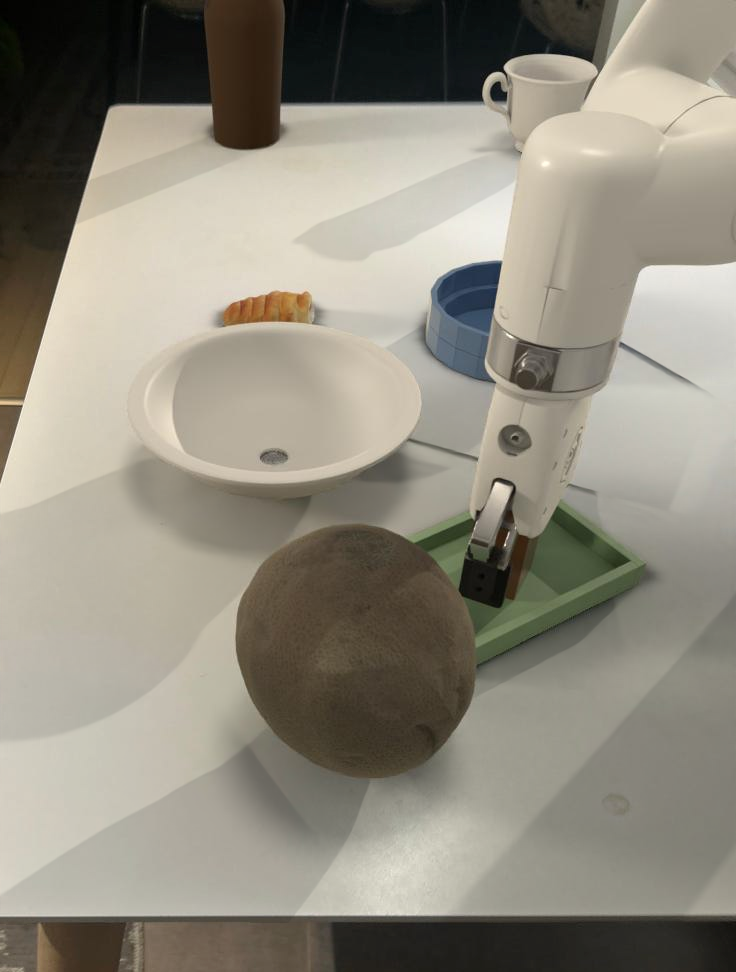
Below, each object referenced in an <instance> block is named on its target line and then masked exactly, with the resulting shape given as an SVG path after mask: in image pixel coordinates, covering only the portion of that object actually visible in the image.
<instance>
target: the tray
mask: <svg viewBox="0 0 736 972" xmlns="http://www.w3.org/2000/svg"><path fill="white" fill-rule="evenodd" d="M473 523H474V519H473V518H472V516H471V514H470V510H468V511H465V512H463V513H460V514H459V515H456V516H454V517H452V518H450V519H447V520H445V521H443V522H440V523H437V524H436V525H433V526H431V527H428V528H427V529H424V530H422V531H419V532H417V533H415V534H413V535H410V536H408V537H405V538H406V539H408V540H410V541H411V542H413V543H415V544H416V545H418V546H419V547H421V548H422V549H423V550H425V551H426V552H427V553H428V554H429V555H430V556H431V557H432V558H433V559H434V560H435V561H436V562H437V563H438V565H439V566H440V567H441V568H442V569H443V571H444V572H445V573H446V574H447V575H448V577H449V578H450V580H451V581H452V582H453V584H454V585H455V587H456V588H457V589H459V584H460V579H461V574H462V568H463V563H464V558H465V552H466V550H467V548H468V545H469V542H470V538H471V533H472V528H473ZM646 566H647V562H646V561H644V559H642V558H640V557H639V556H638V555H637V554H635V553H634V552H633V551H631V550H630V549H629V548H627V547H626V546H624V545H623V544H622V543H620V542H619V541H618V540H616V539H615V538H614V537H612V536H611V535H610V534H608V533H607V532H605V531H604V530H603V529H602V528H600V527H599V526H598V525H596V524H595V523H594V522H592V521H591V520H589V519H588V518H586V516H584V515H582V514H581V513H580V512H579V511H577V510H576V509H574V508H573V507H572V506H571V505H569V504H568V503H566V502H565V501H564V500H562V498H561V499H560V501H559V503H558V505H557V507H556V509H555V510H554V512H553V514H552V516H551V518H550V520H549V522H548V523H547V525H546V527H545V529H544V530H543V532H542V533H541V534H540V535H539V539H538V542H537V546H536V550H535V554H534V558H533V561H532V565H531V569H530V571H529V573H528V574H527V576H526V578H525V580H524V582H523V584H522V586H521V588H520V590H519V592H518V594H517V596H516V598H515V599H514V600H511V599H508V598H505V601H504V603H503V605H502V607H501V608H494V607H491V606H488V605H485V604H482V603H479V602H477V601H474V600H471V599H468V598H465V597H462V598H463V600H464V602H465V604H466V606H467V608H468V611H469V614H470V617H471V620H472V623H473V627H474V631H475V644H476V665H477V666H479V665H481V664H483V663H485V662H487V661H489V660H491V659H493V658H495V657H497V656H499V655H501V654H503V653H505V652H507V651H509V650H511V649H513V648H515V647H517V646H518V644H519V645H520V643H521V642H523V641H525V640H527V639H529V638H531V637H533V636H535V635H537V634H539V633H540V634H542V633H544V632H546V631H548V630H550V629H552V628H554V627H556V626H558V625H560V624H562V623H564V622H566V621H568V620H570V619H572V618H574V617H576V616H578V615H580V614H582V613H583V611H584V612H586V611H588V610H590V609H592V608H594V607H596V606H597V604H598V605H599V604H601V603H603V601H604V602H606V601H607V600H609V599H612V598H613V597H616V596H617V595H619V594H621V593H623V592H625V591H627V590H629V589H631V588H633V587H635V586H637V585H638V584H640V582H641V579H642V576H643V574H644V571H645V570H646V569H645V568H646ZM595 605H596V606H595ZM593 606H594V607H593ZM591 607H592V608H591ZM589 608H590V609H589ZM587 609H588V610H587ZM585 610H586V611H585ZM581 612H582V613H581ZM579 613H580V614H579ZM577 614H578V615H577ZM575 615H576V616H575ZM573 616H574V617H573ZM571 617H572V618H571ZM569 618H570V619H569ZM567 619H568V620H567ZM565 620H566V621H565ZM563 621H564V622H563ZM561 622H562V623H561ZM559 623H560V624H559ZM557 624H558V625H557ZM555 625H556V626H555ZM553 626H554V627H553ZM551 627H552V628H551ZM549 628H550V629H549ZM547 629H548V630H547ZM545 630H546V631H545ZM543 631H544V632H543ZM541 632H542V633H541ZM540 634H539V635H540ZM537 636H538V635H537ZM535 637H536V636H535ZM533 638H534V637H533ZM531 639H532V638H531ZM529 640H530V639H529ZM527 641H528V640H527ZM525 642H526V641H525ZM523 643H524V642H523ZM521 644H522V643H521ZM516 645H517V646H516ZM514 646H515V647H514ZM512 647H513V648H512ZM510 648H511V649H510ZM508 649H509V650H508ZM506 650H507V651H506ZM504 651H505V652H504ZM502 652H503V653H502ZM500 653H501V654H500ZM498 654H499V655H498ZM496 655H497V656H496ZM494 656H495V657H494ZM492 657H493V658H492ZM490 658H491V659H490ZM488 659H489V660H488ZM486 660H487V661H486ZM484 661H485V662H484ZM482 662H483V663H482ZM480 663H481V664H480ZM478 664H479V665H478Z"/></svg>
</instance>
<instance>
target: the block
mask: <svg viewBox="0 0 736 972" xmlns="http://www.w3.org/2000/svg"><path fill="white" fill-rule="evenodd" d="M504 520H507V521H510V522H515V520H514V516H513V512H512V511H510V510H507V512H506V514H505V517H504ZM476 522H477V521H474V523H473V528H472V533H473V530H474V527H475V525H476ZM508 532H509V531H507V530H504V529H501V528H499V531H498V533H497V537H496V543H495V545H494V546H496V547H499V548H500V549H501V550H502V549H503V546H504V544H505V541H506V538H507V535H508ZM472 533H471V536H472ZM470 539H471V538H470ZM538 539H539V535H538V536H536V537H534V538H528V536H524V535H520V534H519V535H518V538H517V540H516V543H515V546H514V549H513V552H512V554H511V557H510V560H509V561H510V562H513V567H512V572H511V576H510V580H509V584H508V588H507V592H506V596H505V598H508V599H511V600H514V599H515V598H516V596H517V594H518V592H519V590H520V588H521V586H522V584H523V582H524V580H525V578H526V576H527V574H528V573H529V571H530V569H531V565H532V561H533V558H534V554H535V550H536V546H537V542H538Z"/></svg>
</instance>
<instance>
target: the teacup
mask: <svg viewBox="0 0 736 972" xmlns="http://www.w3.org/2000/svg"><path fill="white" fill-rule="evenodd" d="M503 70H504V71H505V73H506V75H507V77H506V75H505V74H504V73H503V72H500V71H495V72H492V73H491V74H489V75H488V76H487V78H486V79H485V81H484V84H483V87H482V99H483V102H484V105H486V107H487V108H488V109H489V110H491V111H493V112H496V113H499V114H501V115H502V116H503V117H504V119H505V121H506V126H507V129H508V131H509V133H510V134H511V136H512V137H513V138H514V139H515V140H516V142H515V144H514V148H515V149H516V151H518V152H519V151H520V152H519V153H521V152H522V151H523V148H524V145H525V143H526V141H527V139H528V137H529V135H530V134H531V133H532V132H533V130H534V129H535V128H536V127H537V126H539V125H540V124H541V123H543V122H544V121H546V120H547V119H550V118H552V117H555V116H558V115H562V114H567V113H572V112H580V111H581V109H582V107H583V105H584V102H585V99H586V95H587V92H588V90H589V87H590V84H591V83H592V81H593V79H595V77H596V76H598V75H599V74H598V73H599V71H598V69H597V67H596V65H594V64H593V63H592V62H591V61H588V60H585V59H583V58H579V57H575V56H570V55H564V54H563V55H562V54H552V53H534V54H527V55H520V56H517V57H514V58H511V59H510V60H508V61H507V62H506V63H505V64H504V65H503ZM497 82H500V87H501V90H502V92H504V93H506V92H507V98H506V108H504V106H501V105H500V104H498V103H496V102H495V101H493V99H492V97H491V89H492V87H493V85H494V84H495V83H497Z"/></svg>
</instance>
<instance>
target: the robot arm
mask: <svg viewBox="0 0 736 972" xmlns="http://www.w3.org/2000/svg"><path fill="white" fill-rule="evenodd" d="M735 48H736V0H645V1H644V3H643V4H642V6H641V7H640V9H639V10H638V12H637V13H636V15H635V16H634V18H633V19H632V21H631V23H630V24H629V26H628V27H627V29H626V30H625V32H624V33H623V35H622V36H621V39H620V40H619V41H618V43H617V45H616V46H615V48H614V49H613V50H612V53H611V54H610V56H609V58H608V59H607V60H606V62H605V64H604V66H603V67H602V69H601V71H600V72H599V74H598V75H597V77H596V79H595V81H594V83H593V85H592V87H591V89H590V91H589V93H588V94H587V96H586V97H585V99H584V101H583V104H582V107H581V110H580V112H572V113H567V114H562V115H558V116H555V117H552V118H550V119H547V120H546V121H544V122H543V123H541V124H540V125H539V126H537V127H536V128H535V129H534V130H533V132H532V133H531V134H530V135H529V137H528V139H527V141H526V143H525V145H524V148H523V151H522V153H521V154H520V155H521V156H520V160H519V163H518V169H517V175H516V180H515V187H514V192H513V198H512V202H511V203H512V204H511V209H510V215H509V221H508V226H507V231H506V238H505V244H504V249H503V254H502V255H503V256H502V260H501V261H502V267H501V273H500V279H499V284H498V290H497V296H496V302H495V308H494V311H493V317H492V322H491V328H490V334H489V340H488V345H487V352H486V357H485V368H486V370H487V372H488V374H489V375H490V377H491V378H492V379H493V380H494V381H495V382H494V383H495V386H494V389H493V393H492V398H491V401H490V406H489V410H488V411H487V418H486V423H485V427H484V431H483V435H482V439H481V444H480V447H479V448H480V449H479V454H478V458H477V463H476V468H475V473H474V477H473V478H474V479H473V482H472V483H473V484H472V489H471V496H470V502H469V503H470V504H469V511H470V514H471V516H472V518H473V519H474V521H477V522H476V525H475V527H474V530H473V533H472V536H471V539H470V542H469V545H468V548H467V550H466V552H465V558H464V563H463V568H462V574H461V579H460V584H459V589H458V591H459V592H460V594H461V596H462V597H465V598H468V599H471V600H474V601H477V602H479V603H482V604H485V605H488V606H491V607H494V608H501V607H502V605H503V603H504V601H505V596H506V592H507V588H508V584H509V580H510V576H511V572H512V567H513V562H510V561H509V560H510V557H511V554H512V552H513V549H514V546H515V543H516V540H517V538H518V535H519V534H520V535H524V536H528V538H534V537H536V536H538V535H540V534H541V533H542V532H543V530H544V529H545V527H546V525H547V523H548V522H549V520H550V518H551V516H552V514H553V512H554V510H555V509H556V507H557V505H558V503H559V501H560V499H561V500H562V497H563V495H564V493H565V491H566V489H567V488H568V486H569V484H570V481H571V479H572V477H573V475H574V474H575V473H574V472H575V470H576V467H577V464H578V460H579V456H580V453H581V452H580V451H581V447H582V444H583V443H582V442H583V438H584V435H585V434H584V433H585V429H586V425H587V421H588V417H589V412H590V408H591V404H592V400H593V395H594V394H596V393H598V392H601V390H603V389H604V388H605V387H606V386H607V385H608V383H609V381H610V377H611V374H612V370H613V367H614V363H615V360H616V356H617V353H618V349H619V347H620V342H621V339H622V335H623V333H624V327H625V324H626V320H627V317H628V314H629V309H630V307H631V302H632V299H633V295H634V293H635V288H636V285H637V282H638V278H639V275H640V272H641V271H642V270H644V269H645V268H647V267H651V266H697V267H698V266H699V267H700V266H703V267H704V266H705V267H706V266H720V265H727V264H732V263H736V97H734V96H732V95H730V94H728V93H726V92H723V91H721V90H718V89H716V88H714V87H712V86H709V85H707V83H708V81H709V80H710V79H711V77H712V76H713V75H714V73H715V72H716V70H717V69H718V68H719V66H720V65H721V64H722V63H723V61H724V60H725V59H726V58H727V57H728V55H729V54H730V53H731V52H732V51H733V50H734V49H735ZM507 510H510V511H512V512H513V516H514V520H515V522H510V521H507V520H504V517H505V514H506V512H507ZM499 528H501V529H504V530H507V531H509V532H508V535H507V538H506V541H505V544H504V546H503V549H502V550H501V549H500V548H499V547H496V546H494V545H495V543H496V537H497V533H498V531H499Z"/></svg>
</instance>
